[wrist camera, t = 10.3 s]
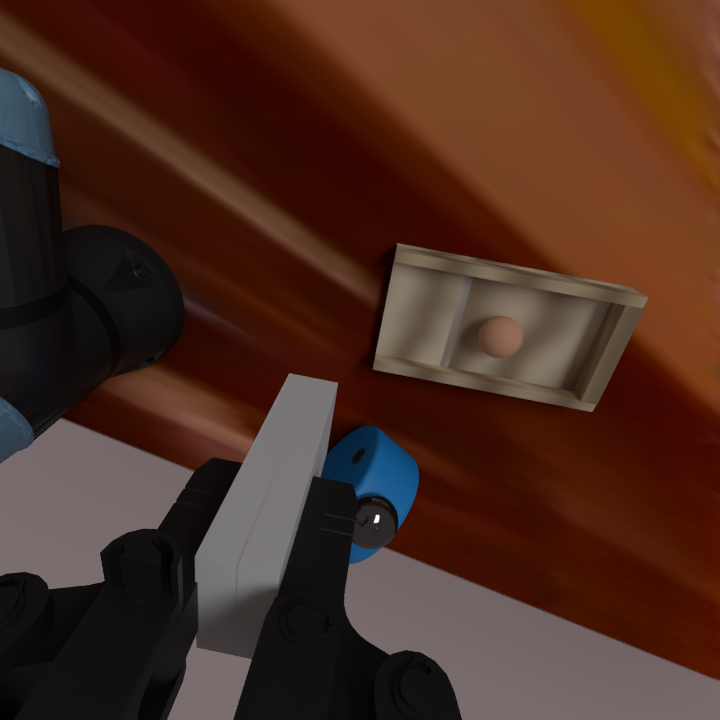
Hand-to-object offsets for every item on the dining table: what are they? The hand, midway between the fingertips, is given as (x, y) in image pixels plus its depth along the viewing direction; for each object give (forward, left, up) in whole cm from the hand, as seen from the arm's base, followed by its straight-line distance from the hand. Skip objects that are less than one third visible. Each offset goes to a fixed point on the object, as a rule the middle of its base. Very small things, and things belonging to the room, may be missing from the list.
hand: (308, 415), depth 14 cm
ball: (+13, -7, -28) cm, 32 cm away
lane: (+13, -7, -30) cm, 34 cm away
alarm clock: (+3, -26, -31) cm, 40 cm away
